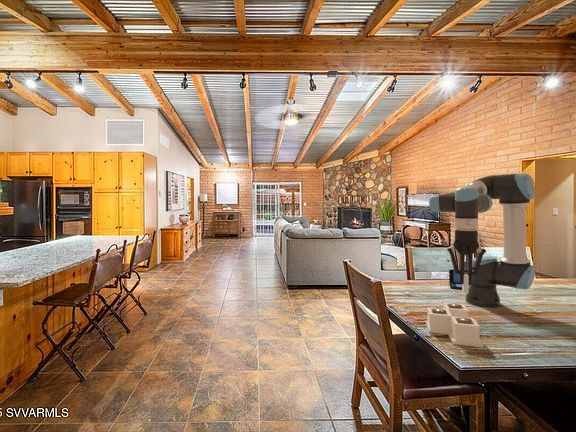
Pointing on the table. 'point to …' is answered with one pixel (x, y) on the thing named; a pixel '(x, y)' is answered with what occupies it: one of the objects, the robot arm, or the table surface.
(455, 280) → the handheld game console
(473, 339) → the knob panel
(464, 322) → the knob
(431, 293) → the table surface
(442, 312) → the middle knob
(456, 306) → the knob
